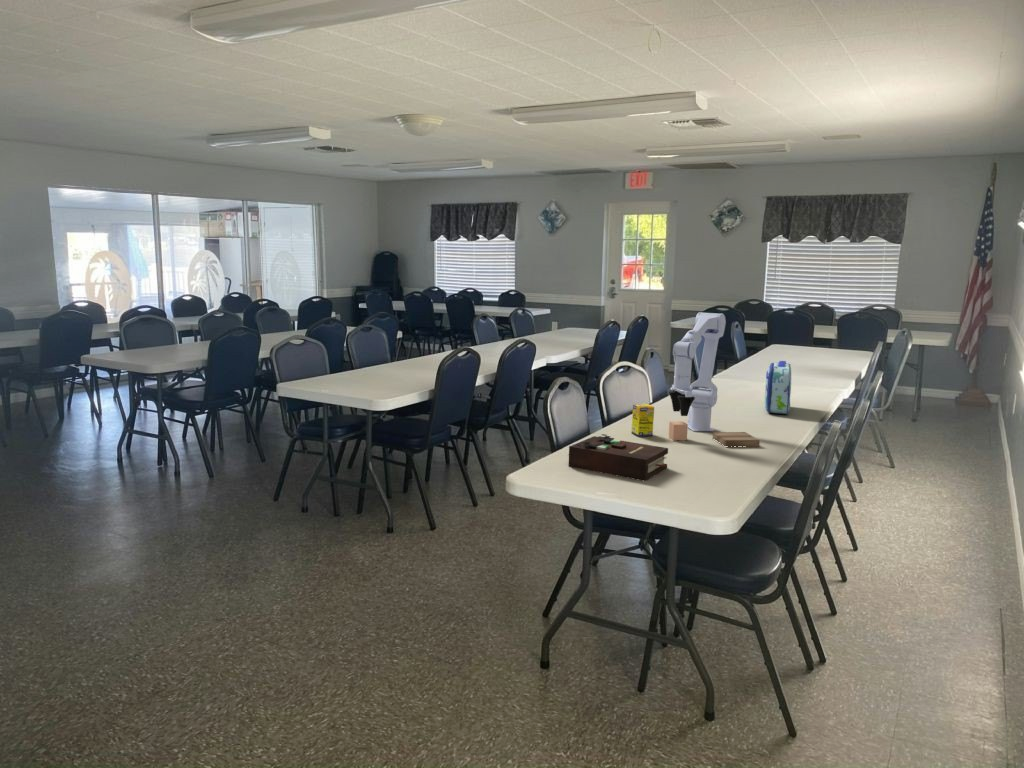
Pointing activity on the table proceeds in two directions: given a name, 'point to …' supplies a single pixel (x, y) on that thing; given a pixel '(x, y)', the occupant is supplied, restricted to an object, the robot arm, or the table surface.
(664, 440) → the table surface
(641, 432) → the supplement box
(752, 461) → the table surface
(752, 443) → the walnut block
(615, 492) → the table surface
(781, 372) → the lunch box
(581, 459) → the decorative book
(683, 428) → the terracotta block
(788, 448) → the table surface
